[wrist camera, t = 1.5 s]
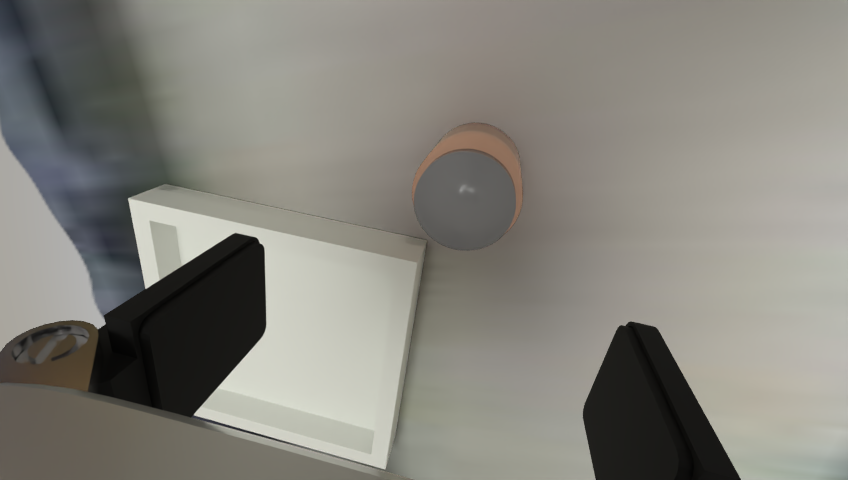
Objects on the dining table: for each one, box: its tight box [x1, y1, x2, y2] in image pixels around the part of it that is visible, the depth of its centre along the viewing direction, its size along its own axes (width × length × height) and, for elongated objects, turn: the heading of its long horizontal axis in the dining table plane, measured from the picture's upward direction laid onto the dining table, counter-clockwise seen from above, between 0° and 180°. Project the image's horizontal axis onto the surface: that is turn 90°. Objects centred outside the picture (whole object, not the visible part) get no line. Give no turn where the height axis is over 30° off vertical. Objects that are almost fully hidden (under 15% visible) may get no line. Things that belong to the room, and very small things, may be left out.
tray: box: [128, 184, 427, 469], centre depth 29 cm, size 18×18×3 cm
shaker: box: [412, 123, 523, 251], centre depth 20 cm, size 5×5×6 cm
